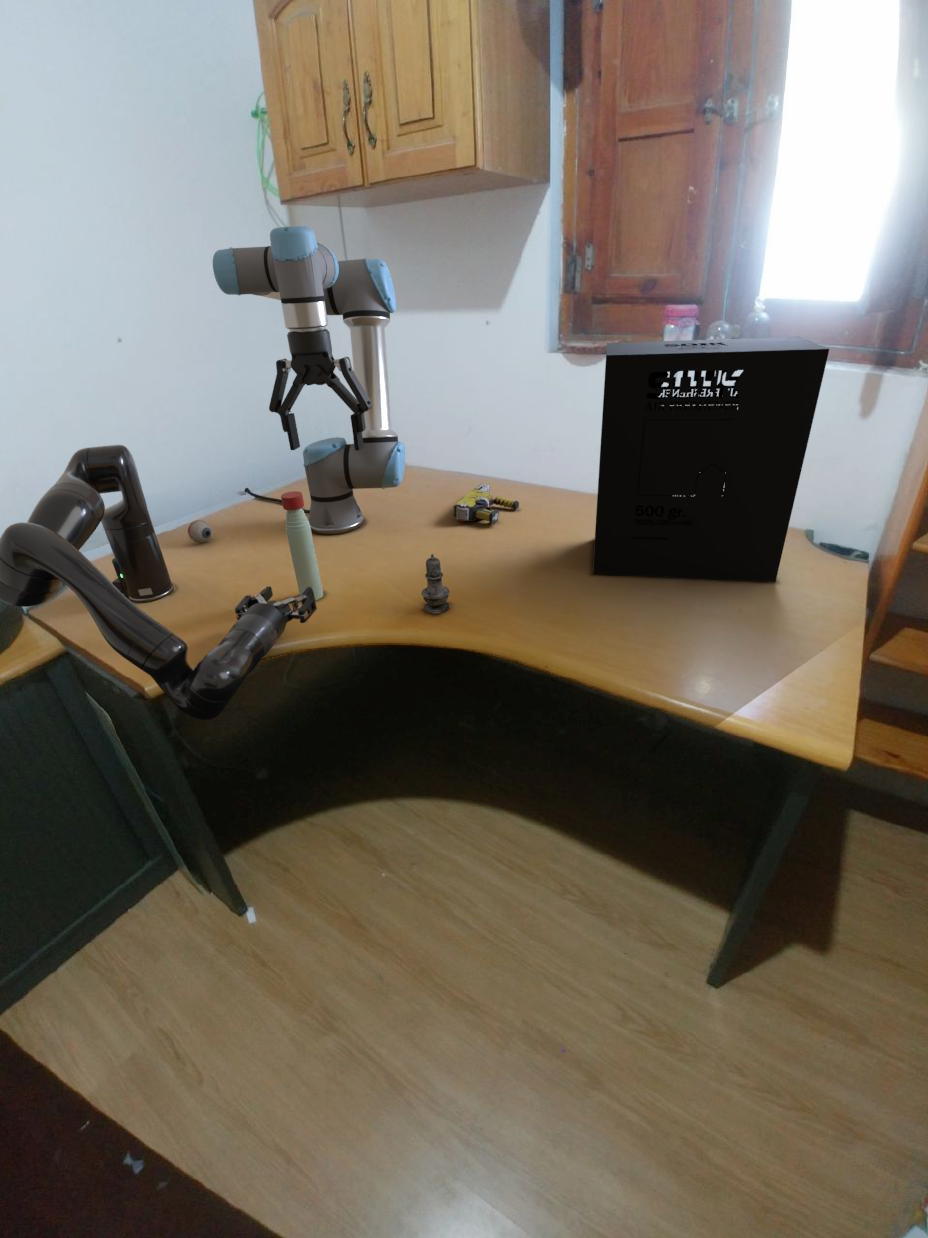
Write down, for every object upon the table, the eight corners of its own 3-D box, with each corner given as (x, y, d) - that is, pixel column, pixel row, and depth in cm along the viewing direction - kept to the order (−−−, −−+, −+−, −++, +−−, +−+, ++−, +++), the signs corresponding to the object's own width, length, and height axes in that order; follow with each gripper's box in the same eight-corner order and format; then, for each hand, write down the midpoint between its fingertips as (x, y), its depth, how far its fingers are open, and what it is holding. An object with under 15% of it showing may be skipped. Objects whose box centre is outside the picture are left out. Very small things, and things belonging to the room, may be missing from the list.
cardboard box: (755, 543, 144) (798, 336, 121) (775, 581, 127) (829, 348, 104) (594, 538, 151) (606, 342, 129) (592, 573, 134) (606, 355, 112)
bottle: (319, 601, 130) (299, 500, 119) (297, 601, 131) (275, 500, 119) (326, 591, 134) (307, 492, 123) (305, 590, 135) (284, 492, 123)
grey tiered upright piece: (447, 614, 122) (443, 560, 116) (419, 613, 123) (413, 559, 117) (453, 601, 127) (450, 548, 121) (426, 599, 128) (421, 547, 122)
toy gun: (527, 488, 179) (479, 481, 183) (505, 513, 159) (452, 504, 162) (525, 503, 181) (478, 496, 185) (503, 529, 161) (451, 520, 165)
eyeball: (201, 547, 160) (195, 526, 157) (186, 543, 163) (180, 522, 160) (220, 539, 164) (214, 518, 161) (205, 536, 167) (199, 515, 164)
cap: (300, 510, 120) (297, 497, 119) (280, 510, 121) (277, 498, 119) (307, 503, 124) (304, 491, 122) (287, 503, 124) (285, 491, 123)
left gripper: (223, 649, 110) (261, 606, 124) (297, 651, 108) (327, 607, 122) (213, 613, 106) (253, 573, 120) (289, 615, 104) (321, 574, 118)
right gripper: (380, 324, 108) (393, 443, 119) (255, 329, 114) (278, 443, 124) (365, 328, 102) (380, 453, 113) (234, 333, 107) (260, 453, 118)
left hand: (290, 590), depth 121 cm, fingers open, 8 cm apart
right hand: (327, 448), depth 119 cm, fingers open, 13 cm apart
